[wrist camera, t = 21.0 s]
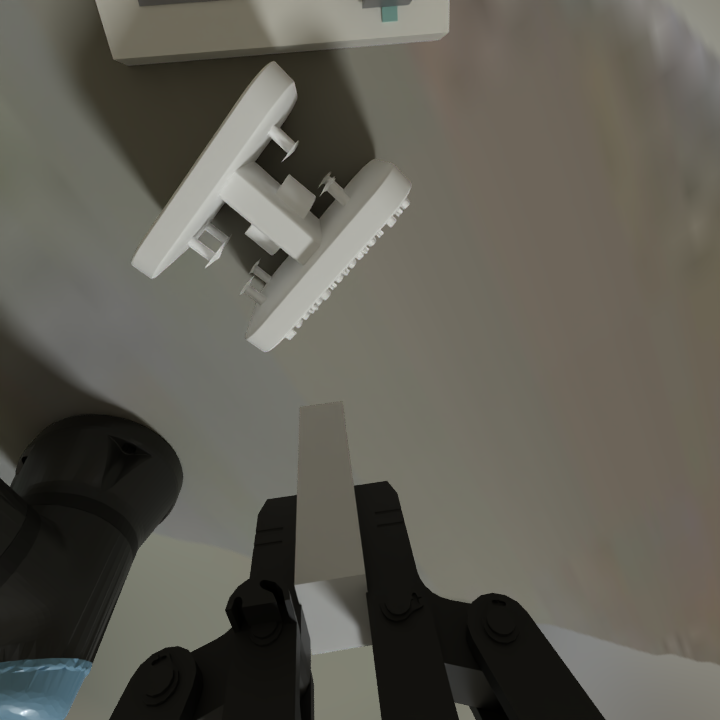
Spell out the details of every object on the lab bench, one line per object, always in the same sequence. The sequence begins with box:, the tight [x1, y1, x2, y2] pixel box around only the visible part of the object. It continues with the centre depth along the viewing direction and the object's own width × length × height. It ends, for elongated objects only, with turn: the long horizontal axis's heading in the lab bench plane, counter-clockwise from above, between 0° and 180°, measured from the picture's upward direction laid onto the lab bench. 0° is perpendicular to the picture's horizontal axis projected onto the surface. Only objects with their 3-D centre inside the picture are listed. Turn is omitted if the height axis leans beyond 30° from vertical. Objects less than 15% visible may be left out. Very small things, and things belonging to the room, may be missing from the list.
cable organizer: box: [131, 61, 412, 352], centre depth 29 cm, size 15×11×12 cm
